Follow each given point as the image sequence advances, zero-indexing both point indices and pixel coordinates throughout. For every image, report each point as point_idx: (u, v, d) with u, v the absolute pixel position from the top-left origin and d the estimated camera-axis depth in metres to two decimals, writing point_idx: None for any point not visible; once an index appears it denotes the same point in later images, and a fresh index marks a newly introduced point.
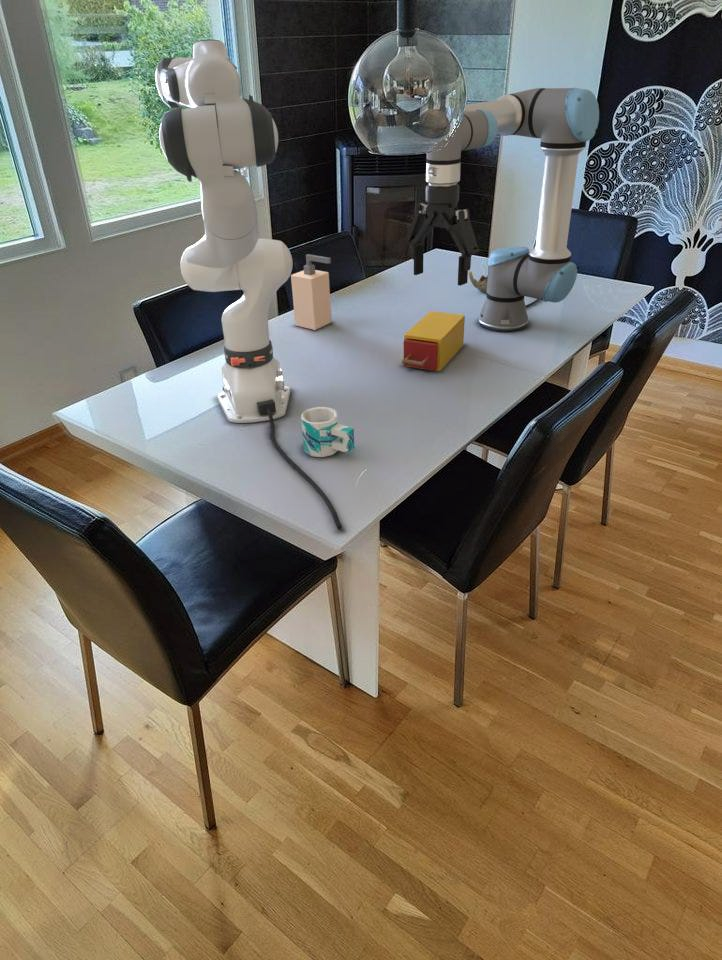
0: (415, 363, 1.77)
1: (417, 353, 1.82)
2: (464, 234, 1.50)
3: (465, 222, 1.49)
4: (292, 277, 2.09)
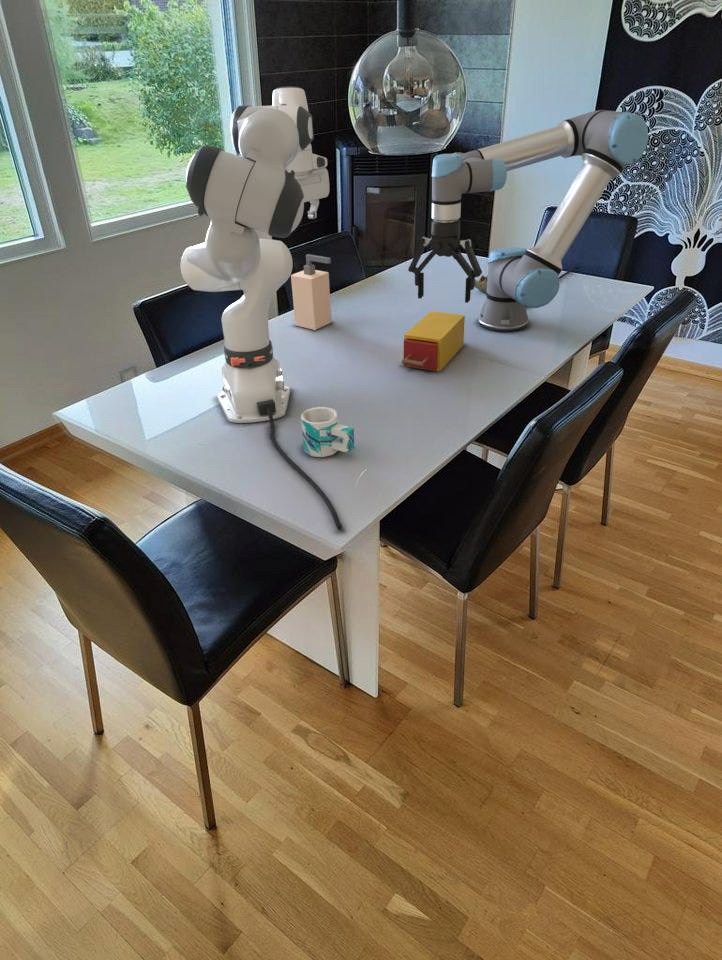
0: (415, 363, 1.77)
1: (417, 353, 1.82)
2: None
3: None
4: (292, 277, 2.09)
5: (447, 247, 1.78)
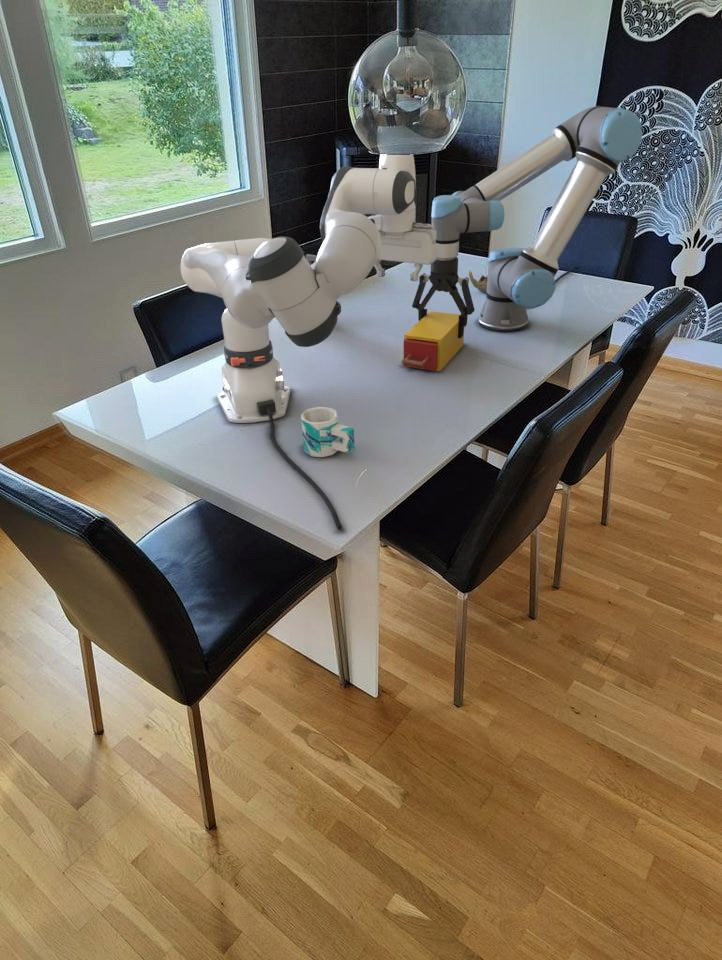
0: (415, 363, 1.77)
1: (417, 353, 1.82)
2: None
3: None
4: None
5: (445, 283, 1.85)
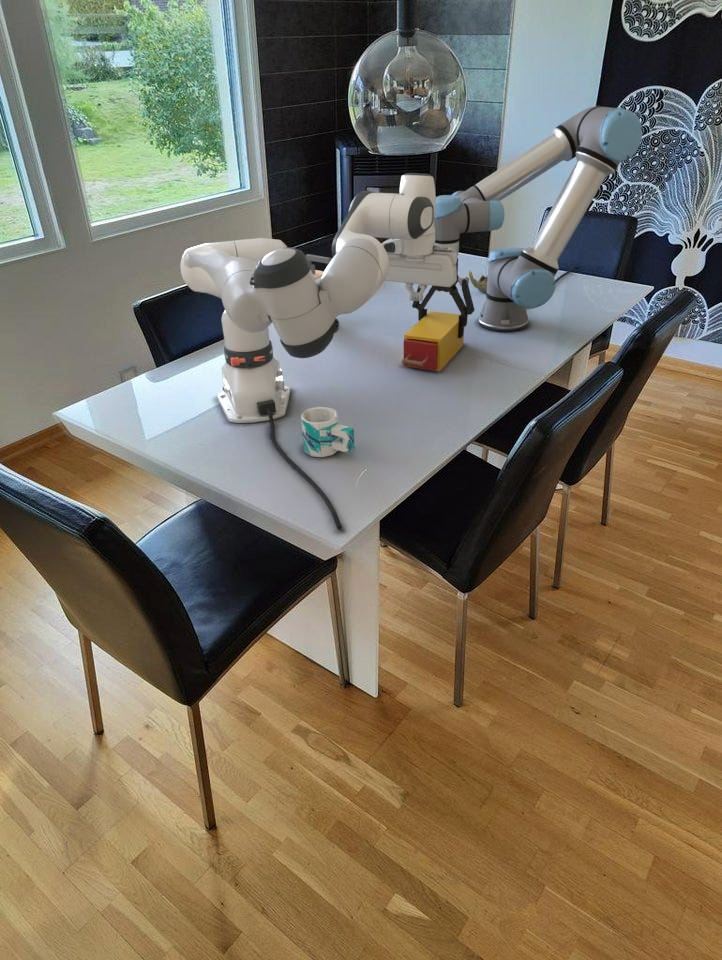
0: (415, 363, 1.77)
1: (417, 353, 1.82)
2: None
3: None
4: None
5: None
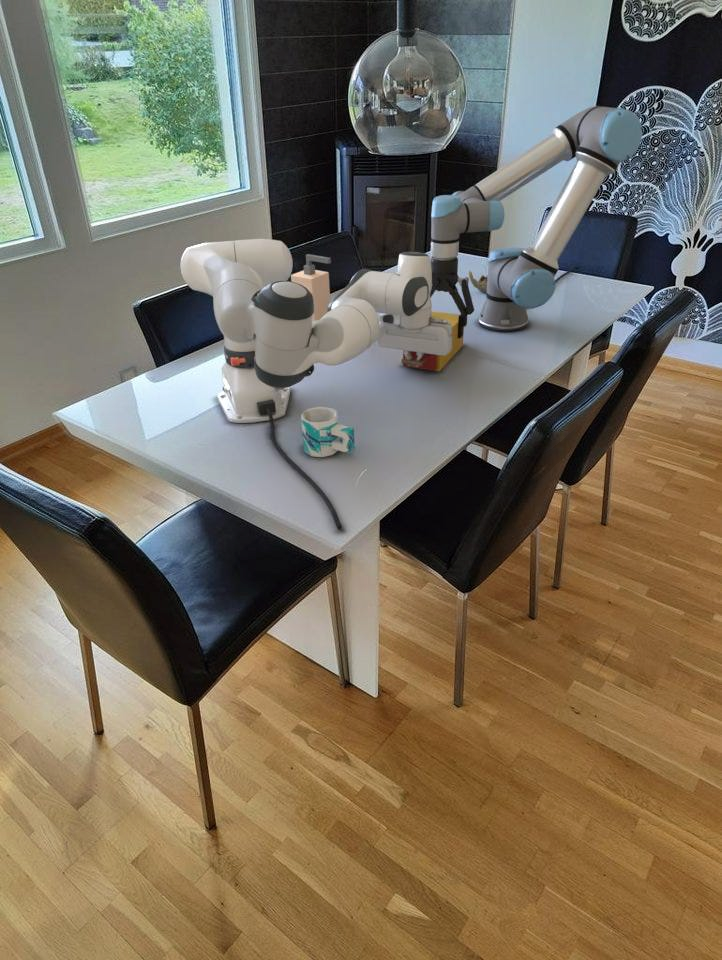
0: (414, 363, 1.77)
1: (416, 353, 1.81)
2: None
3: None
4: (292, 277, 2.09)
5: (445, 283, 1.85)
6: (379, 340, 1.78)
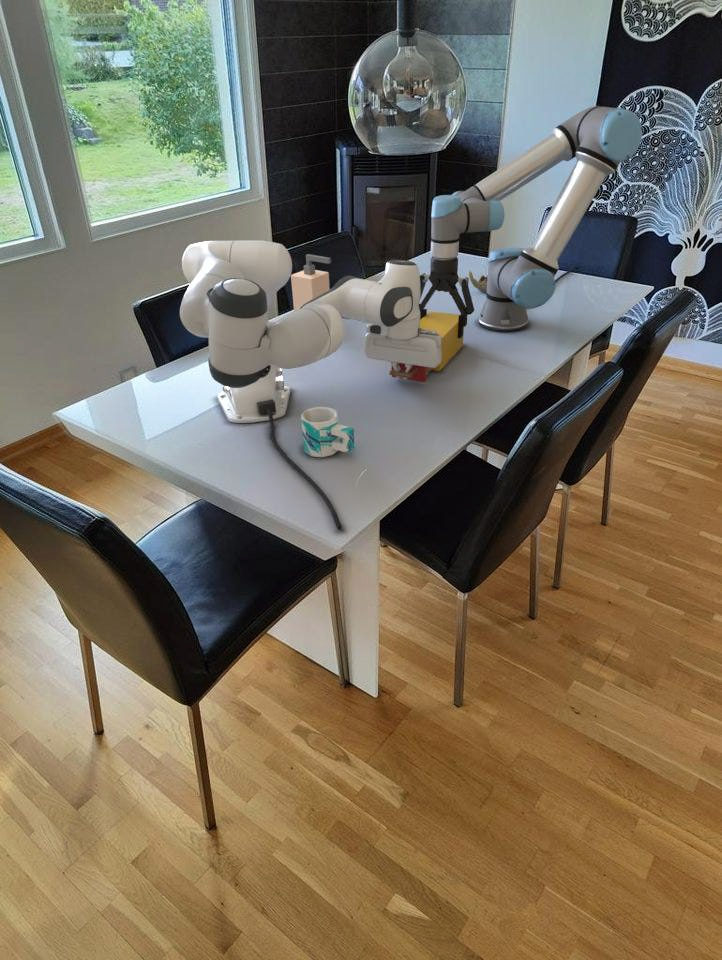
0: (403, 375, 1.71)
1: None
2: None
3: None
4: (292, 277, 2.09)
5: (445, 283, 1.85)
6: (366, 351, 1.72)
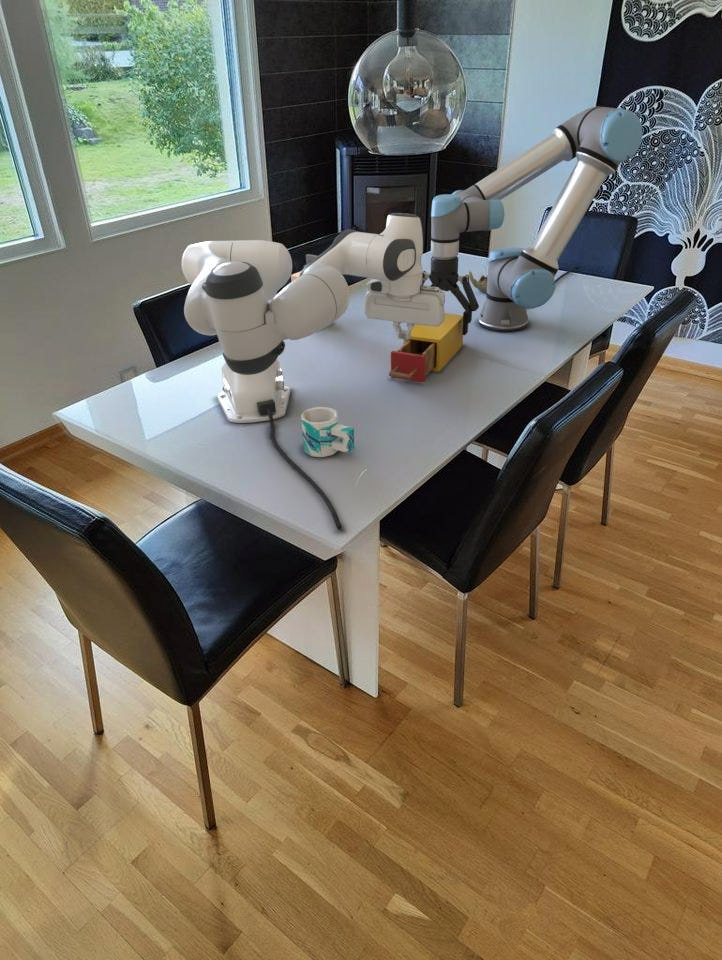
0: (402, 376, 1.71)
1: (404, 365, 1.75)
2: None
3: None
4: (292, 277, 2.09)
5: (445, 282, 1.85)
6: (366, 311, 1.67)
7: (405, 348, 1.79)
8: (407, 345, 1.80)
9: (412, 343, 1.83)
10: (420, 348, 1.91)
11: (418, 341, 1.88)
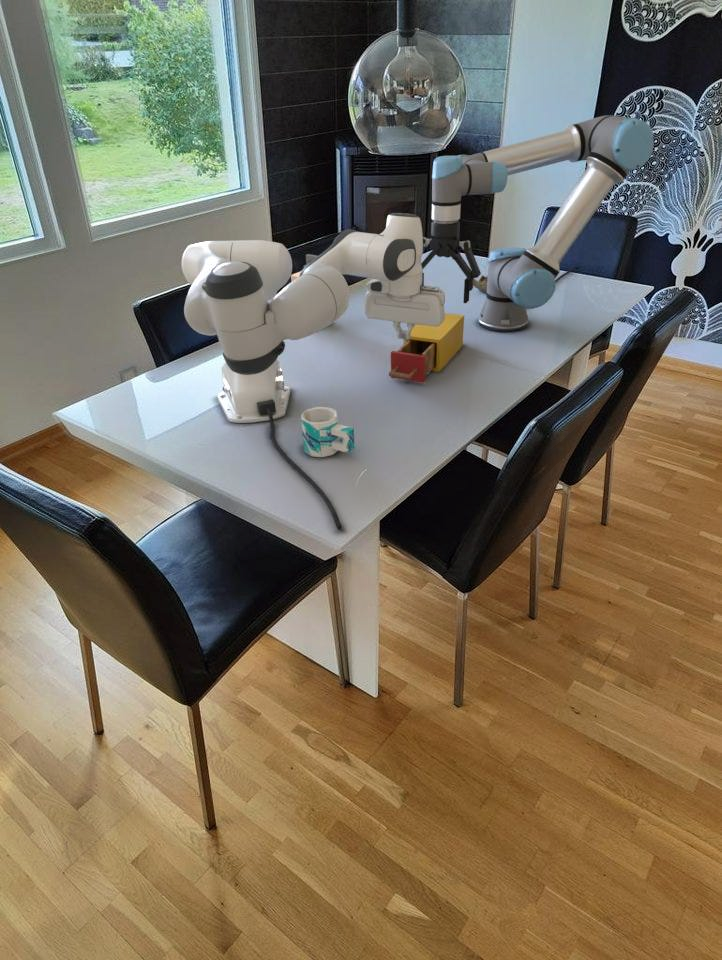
0: (402, 376, 1.71)
1: (404, 366, 1.75)
2: None
3: None
4: (292, 277, 2.09)
5: (446, 248, 1.80)
6: (366, 311, 1.67)
7: (405, 348, 1.79)
8: (407, 345, 1.80)
9: (412, 344, 1.83)
10: (420, 348, 1.91)
11: (418, 341, 1.88)
